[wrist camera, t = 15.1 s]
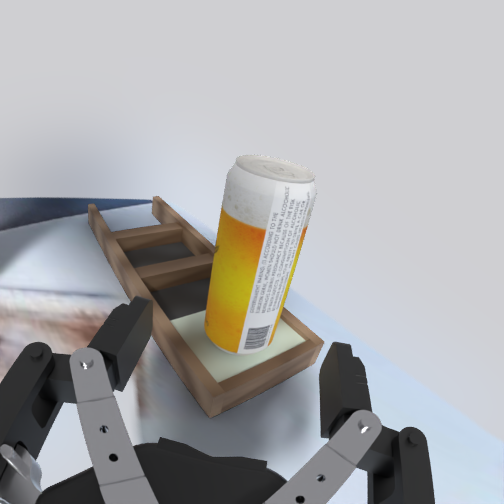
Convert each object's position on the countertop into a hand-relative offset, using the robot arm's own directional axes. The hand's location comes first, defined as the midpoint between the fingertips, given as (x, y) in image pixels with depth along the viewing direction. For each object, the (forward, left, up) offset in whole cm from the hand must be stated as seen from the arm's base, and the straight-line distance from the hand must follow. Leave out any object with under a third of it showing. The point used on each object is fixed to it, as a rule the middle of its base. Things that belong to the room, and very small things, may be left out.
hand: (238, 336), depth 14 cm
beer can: (0, +11, -10) cm, 15 cm away
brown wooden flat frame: (-9, +20, -12) cm, 26 cm away
